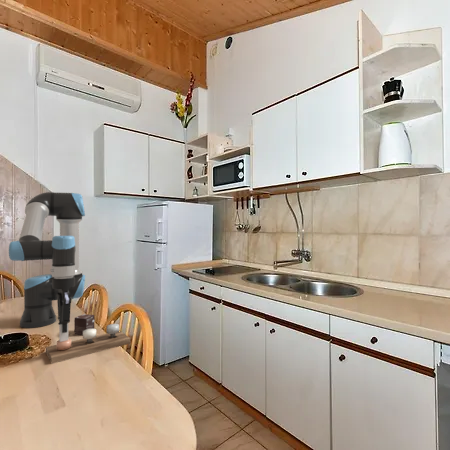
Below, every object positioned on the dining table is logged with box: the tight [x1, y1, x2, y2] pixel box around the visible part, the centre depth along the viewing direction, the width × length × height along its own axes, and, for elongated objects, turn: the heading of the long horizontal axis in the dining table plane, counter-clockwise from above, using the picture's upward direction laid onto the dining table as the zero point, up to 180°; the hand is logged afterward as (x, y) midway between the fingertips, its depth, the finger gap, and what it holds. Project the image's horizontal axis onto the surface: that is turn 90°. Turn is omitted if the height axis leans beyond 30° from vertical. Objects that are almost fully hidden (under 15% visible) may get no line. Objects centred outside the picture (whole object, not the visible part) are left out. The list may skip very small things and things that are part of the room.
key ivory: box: [82, 328, 97, 343], centre depth 117 cm, size 5×5×4 cm
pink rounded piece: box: [56, 338, 72, 351], centre depth 111 cm, size 5×5×4 cm
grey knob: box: [106, 323, 120, 337], centre depth 122 cm, size 5×5×4 cm
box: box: [73, 313, 95, 336], centre depth 134 cm, size 6×6×7 cm
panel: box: [45, 330, 131, 364], centre depth 117 cm, size 12×28×2 cm, turn 129°
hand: (63, 340), depth 111 cm, fingers closed
